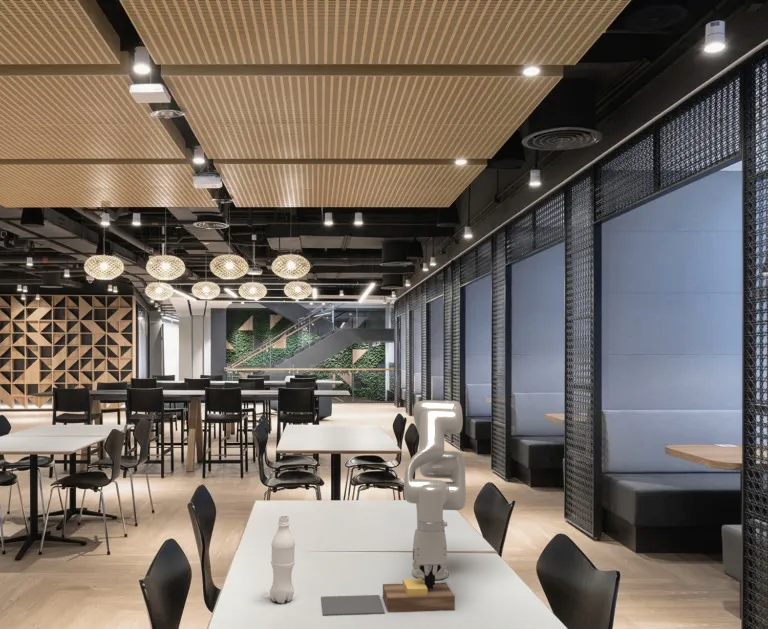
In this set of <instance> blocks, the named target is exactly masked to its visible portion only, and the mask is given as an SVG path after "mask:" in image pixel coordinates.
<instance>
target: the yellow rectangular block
mask: <svg viewBox="0 0 768 629" xmlns="http://www.w3.org/2000/svg"><path fill="white" fill-rule="evenodd" d="M402 584H403V587H404V589H405V592H406V594H407V596H427V593H428V588H427V587H426V585H425V583H424V579H422V578H402Z"/></svg>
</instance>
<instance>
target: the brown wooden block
mask: <svg viewBox="0 0 768 629" xmlns="http://www.w3.org/2000/svg"><path fill="white" fill-rule="evenodd" d="M426 587H427V586H426ZM455 597H456V596H455V595H454V593H453V591H452V589H451V588H450V587H449V584H448V583H447V582H435V585H433V589H431V588H430V589H428V593H427V596H407V594H406V592H405V589H404V587H403V583H383V584H382V600H383V602H384V605H385V609H386V612H387V613H406V612H407V613H409V612H411V613H412V612H434V611H435V612H436V611H442V612H443V611H455V606H456V602H455V600H456V598H455Z"/></svg>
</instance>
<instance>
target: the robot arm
mask: <svg viewBox="0 0 768 629" xmlns="http://www.w3.org/2000/svg"><path fill="white" fill-rule="evenodd" d="M412 412H413V420H414V424H415V428H416V430H417V433H418V436H419V438H418V451H417V452H416V453H415V454H414V455H413V456H412V457H411V458H410V459H409V461H408V463H407V465H406V467H405V470H404V471H405V472H404V480H403V481H404V483H403V496H404V499H405V501H406V502H408V503H409V504H415V506H416V529H415V531H414V534H413V535H414V536H413V543H412V569H411V574H412V576H413V577H415V578H416V579H418V578H422V580H423V581H424V583H425V585H426V586H427V588H428V589H430V588H431V589H433V585H435V583H436V580H437V581H440V580H443V579H447V578H448V577H449V570H448V569H447V568H448V562H447V561H448V548H447V547H448V545H447V538H446V533H445V532H446V530H445V528H446V527H448V522H447V521H444V516H443V515H444V511H462V510H463V509H464V507H465V505H466V499H467V497H466V495H467V494H466V493H467V492H466V490H467V489H466V462H465V461H466V460H465V458H464V455H463V454H462V453H461V452H459V451H454V450H453V451H450V450H447V451H446V450H445V435H448V434H449V435H458V434H461V432H462V430H463V423H464V422H463V421H464V420H463V416H464V415H463V408H462V405H461V403H460V402H459V401H456V400H436V399H435V400H433V399H426V400H420V401H418V402H416V403H414V404H413V408H412ZM418 468H419V471H420V474H421V476H422V477H424V478H429V479H421V478H417V479H416V478H413V477H414V474H415V472H416V470H418ZM443 479H449V480H451V481H444V480H443Z"/></svg>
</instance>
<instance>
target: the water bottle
mask: <svg viewBox="0 0 768 629" xmlns="http://www.w3.org/2000/svg"><path fill="white" fill-rule="evenodd" d="M277 526H278V528H277V531H276V533H275V534H274V535H273V539H272V541H271V561H270V565H271V568H272V573H273V577H272V578H273V580H272V585H271V588H270V590H269V592H270V593H269V594H270V598H271V601H272V602H277V603H278V604H284V603H285V601H286V602H288V603H289V602H291V601H292V599H293V597H294V592H295V589H294V585H293V582H292V581H293V580H292V574H293V573H292V571H293V569H294V566H295V549H296V548H295V547H296V542H295V538H294V536H293V535H292V534H293V533H291V530H290V517H289V515H280V516H279V517H278V524H277Z"/></svg>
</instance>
